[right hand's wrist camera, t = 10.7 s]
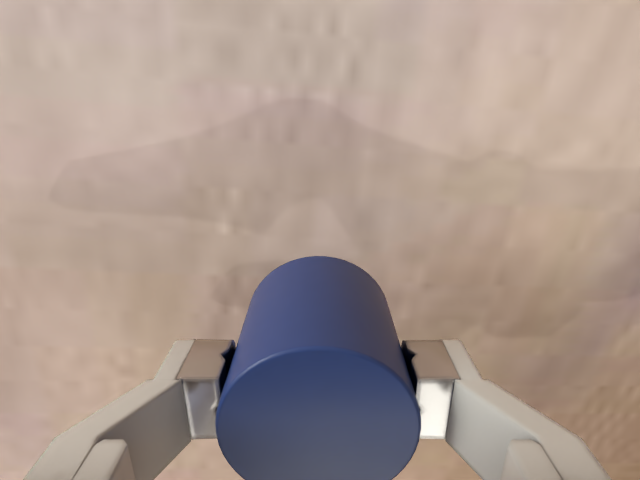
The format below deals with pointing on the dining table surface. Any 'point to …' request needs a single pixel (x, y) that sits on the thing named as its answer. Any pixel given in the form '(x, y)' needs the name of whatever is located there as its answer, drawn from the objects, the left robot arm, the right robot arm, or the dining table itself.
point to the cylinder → (318, 380)
